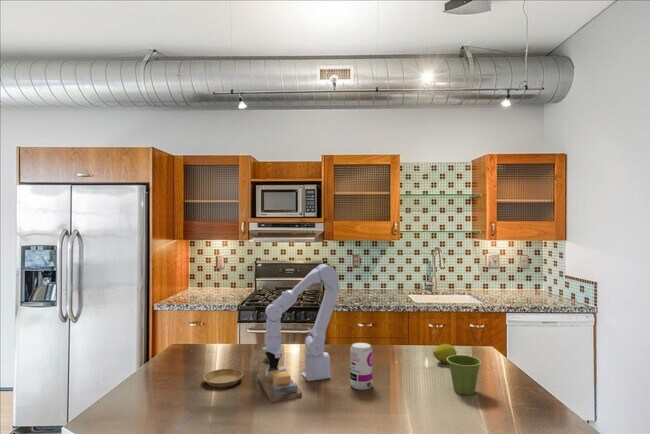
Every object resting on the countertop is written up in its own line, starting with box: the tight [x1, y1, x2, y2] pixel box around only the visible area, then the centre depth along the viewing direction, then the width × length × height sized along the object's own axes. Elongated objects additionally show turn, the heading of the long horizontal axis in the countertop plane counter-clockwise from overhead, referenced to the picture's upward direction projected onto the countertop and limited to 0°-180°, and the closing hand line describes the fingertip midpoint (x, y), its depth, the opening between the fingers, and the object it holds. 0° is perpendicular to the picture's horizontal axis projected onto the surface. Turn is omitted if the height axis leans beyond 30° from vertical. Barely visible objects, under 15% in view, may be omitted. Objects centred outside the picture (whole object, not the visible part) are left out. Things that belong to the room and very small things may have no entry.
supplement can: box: [349, 342, 373, 391], centre depth 150 cm, size 8×8×15 cm
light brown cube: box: [273, 370, 291, 386], centre depth 144 cm, size 5×5×5 cm
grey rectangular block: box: [265, 366, 287, 382], centre depth 152 cm, size 7×3×4 cm, turn 112°
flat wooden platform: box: [257, 375, 303, 403], centre depth 147 cm, size 11×20×4 cm, turn 22°
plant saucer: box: [203, 368, 244, 388], centre depth 154 cm, size 15×15×3 cm
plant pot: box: [447, 354, 482, 396], centre depth 145 cm, size 12×12×11 cm
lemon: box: [432, 343, 457, 364], centre depth 175 cm, size 11×8×8 cm
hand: (273, 371), depth 155 cm, fingers closed
